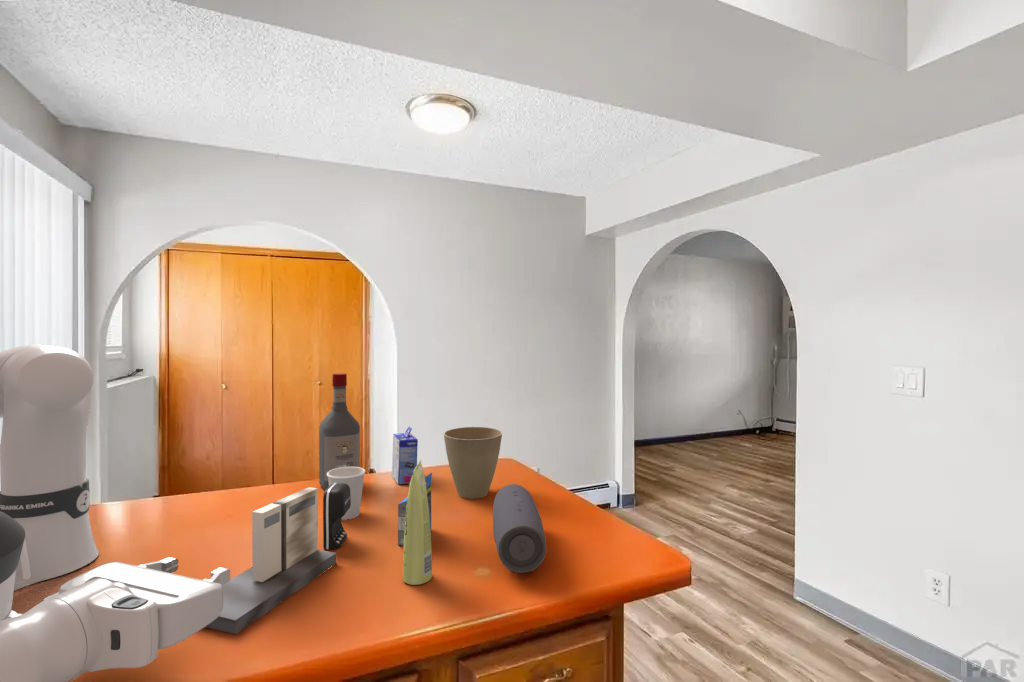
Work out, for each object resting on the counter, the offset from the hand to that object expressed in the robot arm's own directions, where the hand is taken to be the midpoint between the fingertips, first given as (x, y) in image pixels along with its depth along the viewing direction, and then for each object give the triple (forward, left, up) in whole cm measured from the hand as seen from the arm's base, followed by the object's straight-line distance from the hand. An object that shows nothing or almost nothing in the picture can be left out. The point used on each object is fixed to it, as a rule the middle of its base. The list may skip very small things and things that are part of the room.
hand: (199, 568), depth 70 cm
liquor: (+11, +64, -9) cm, 65 cm away
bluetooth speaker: (+49, +17, -9) cm, 53 cm away
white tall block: (+6, +11, -7) cm, 14 cm away
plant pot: (+45, +51, -9) cm, 68 cm away
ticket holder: (+6, +11, -9) cm, 15 cm away
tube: (+30, +10, -9) cm, 33 cm away
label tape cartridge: (+30, +27, -10) cm, 41 cm away
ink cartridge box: (+28, +67, -9) cm, 73 cm away
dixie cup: (+15, +42, -9) cm, 45 cm away
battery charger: (+15, +27, -9) cm, 32 cm away
